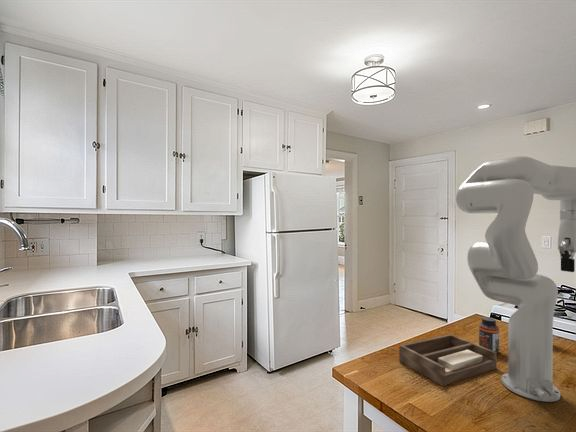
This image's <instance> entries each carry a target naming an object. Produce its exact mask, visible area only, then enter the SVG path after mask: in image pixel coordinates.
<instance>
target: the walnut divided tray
mask: <svg viewBox="0 0 576 432" xmlns="http://www.w3.org/2000/svg"><path fill="white" fill-rule="evenodd" d="M467 349H468V350H470V351H472V352H475V353H477V354H480V355H482V356H483V361H482V362H481V363H478V364H475V365H471V366H468V367H464V368H461V369H458V370H454V371H451V372H448V373H445V367H444V366H442V365H440V364H438V358H440V357H443V356H447V355H450V354H454V353H457V352H460V351H464V350H467ZM497 355H498V353H497V352H495V351H492V350H489V349H487V348H484V347H482V346H479V344H477V343H474V342H472V341H469V340H466V339H464V338H462V337H459V336H456V335H454V334H452V333H449V334H444V335H440V336H435V337H430V338H427V339H426V338H425V339H421V340H417V341H412V342H408V343H403V344H399V354H398V356H399V357H398V358H399V360H398V361H399V362H401V363H403V364H404V365H406V366H407V367H409V368H411V369H413V370H415V371H416V372H418V373H420V374H421V375H423V376H425V377H427V378H429V379H430V380H432V381H434V382H435V383H437V384H438V385H441V386H445V385H449V384H452V383H455V382H459V381H461V380H465V379H468V378H472V377H474V376H478V375H481V374H483V373H487V372H490V371H493V370H497Z"/></svg>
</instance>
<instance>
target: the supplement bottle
mask: <svg viewBox="0 0 576 432" xmlns="http://www.w3.org/2000/svg"><path fill="white" fill-rule="evenodd" d="M481 318H482V319H481V323H479V324H478V345H479V346H482V347H484V348H487V349H489V350H492V351H495V352H497V354H498V353H499V352H500V328H499V326H498V325H497V324H496V323H497V321H496V320H497V319H495V318H493V317H489V316H483V317H481Z"/></svg>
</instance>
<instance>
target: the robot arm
mask: <svg viewBox="0 0 576 432" xmlns="http://www.w3.org/2000/svg"><path fill="white" fill-rule="evenodd" d="M534 195H541V196H542V198H544V199H546V200H548V201H559V221H560V223H559V227H558V236H557V238H558V239H557V250H558V251H559V254H560V255H559V258H560V271H562V272H569V273H575V260H576V259H574V256H575V254H576V167H575V166H564V165H550V164H548V163H545V162H542V161H540V160H537V159H535V158H532V157H530V156H521V155H520V156H514V157H507V158H500V159H495V160H489V161H486V162H483V164H481V165H480V166H478V167H477V168H476V169H475V170H474V171H473V172H471V174H470V175H469V177H468V178H466V179H465V180H464V182H462V183H461V184H460V186H459V188H458V190H457V191H456V195H455V196H456V197H455V201H456V205H457V207H458V209H459V210H461V211H462V212H464V213H467V214H497V215H496V216H495V218H494V220H492V222H491V223H490V224H489V225H488V227H487V229H486V230H485V234H484V238H485V241H476V242H474V243H473V244H472V245H470V247H469V249H468V251H467V256H466V257H467V260H466V261H467V266H468V268H469V270H470V273H471V275H472V276H473V278H474V280H475V282H476V283H477V285H478V287H479V289H480V291H481V292H482V294H483V295H484V296H485V297H486V298H488V299H489V300H492V301H495V302H500V303H501V302H502V303H506V304H510V305H513V306H517V310H515V312H513V313H512V314H511V315H510V317H509V318H508V322H507V324H508V325H507V335H508V336H507V338H508V339H507V349H508V350H507V373H504V374H502V375H501V377H500V378H501V383H502V384H503V386H504V387H506V388H507V389H508V390H510V391H511V392H513V393H514V394H517V395H519V396H520V397H524V398H526V399H530V400H533V401H538V402H545V403H549V402H550V403H553V402H558V401H560V399H561V391H560V390H559V388H557V387H556V386H555V385H554V381H553V377H554V376H553V374H554V373H553V364H554V363H553V359H554V357H553V356H554V354H553V352H554V349H553V347H554V345H553V343H554V341H553V339H554V338H553V335H554V332H553V331H554V330H553V328H554V315H555V308H556V305H557V299H558V296H559V295H558V294H559V291H558V290H559V289H558V286H557V284H556V283H555V281H554V280H553V279H551V278H550V277H548V276H545V275H542V274H539V273H538V271H539V263H538V261H537V257H536V254H535V252H534V250H533V247H532V246H531V244H530V240H529V238H528V235H527V234H526V233H527V232H526V226H527V222H528V219H529V215H530V212H531V209H532V205H533V203H534Z"/></svg>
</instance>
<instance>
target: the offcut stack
mask: <svg viewBox="0 0 576 432" xmlns="http://www.w3.org/2000/svg"><path fill="white" fill-rule="evenodd" d="M482 361H483V356H482V355H480V354H477V353H475V352H472V351H470V350H468V349H467V350H464V351H460V352H457V353H454V354H450V355H447V356H443V357H440V358H438V364H440V365H442V366H444V367H445V373H448V372H451V371H454V370H458V369H461V368H464V367H468V366H471V365H475V364H478V363H481V362H482Z"/></svg>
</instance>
